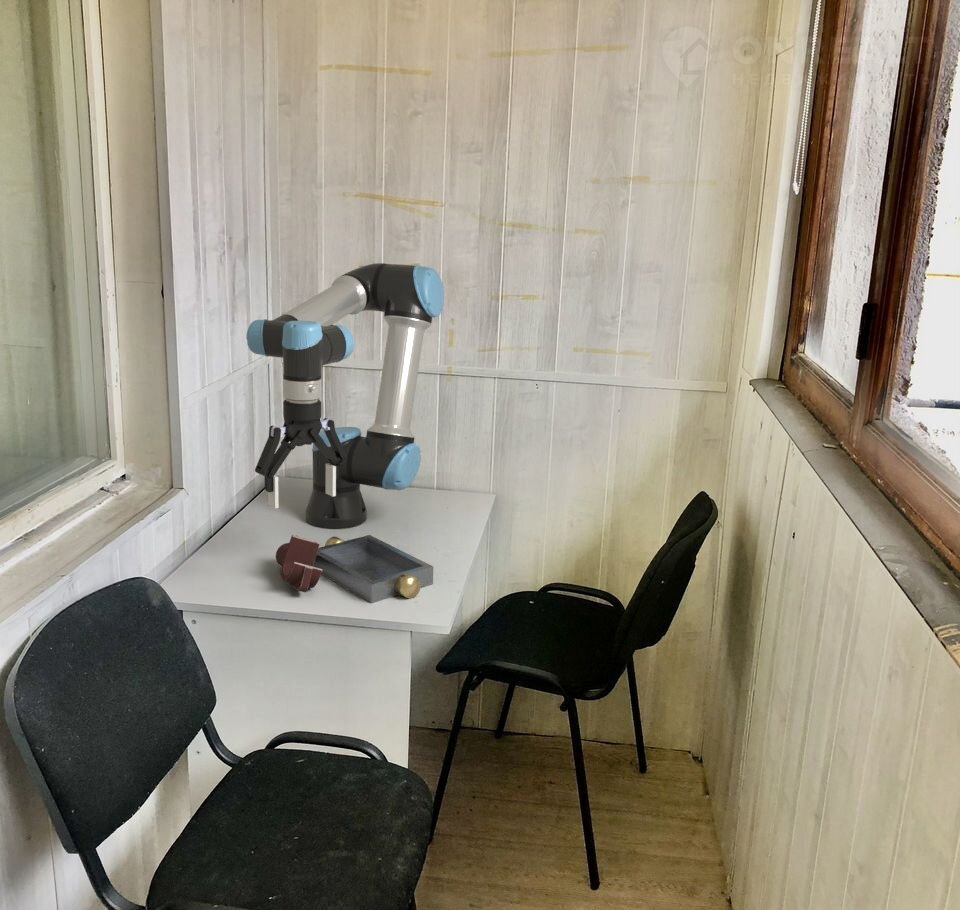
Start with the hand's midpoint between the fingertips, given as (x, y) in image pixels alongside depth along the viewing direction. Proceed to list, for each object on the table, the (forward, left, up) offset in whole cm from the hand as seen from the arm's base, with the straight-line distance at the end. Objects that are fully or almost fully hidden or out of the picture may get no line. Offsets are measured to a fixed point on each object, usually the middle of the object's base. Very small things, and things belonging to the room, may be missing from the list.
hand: (302, 500), depth 189 cm
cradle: (+6, +13, -18) cm, 23 cm away
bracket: (0, -1, -18) cm, 18 cm away
